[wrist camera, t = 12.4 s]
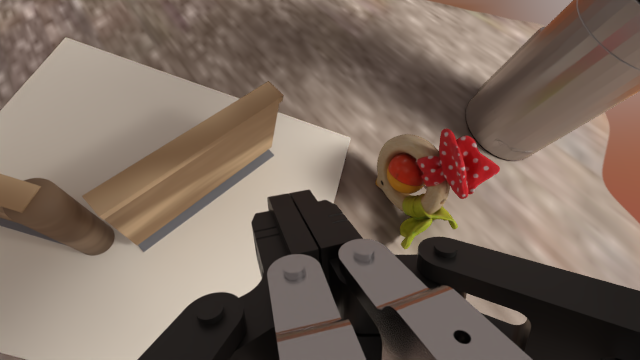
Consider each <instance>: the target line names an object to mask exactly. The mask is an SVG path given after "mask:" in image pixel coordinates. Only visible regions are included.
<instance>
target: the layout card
mask: <svg viewBox="0 0 640 360" xmlns="http://www.w3.org/2000/svg"><path fill="white" fill-rule="evenodd" d="M237 100H239V98H237V97H234V96H231V95H228V94H225V93H222V92H220V91H217V90H214V89H211V88H208V87H205V86H203V85H200V84H197V83H194V82H191V81H188V80H186V79H183V78H180V77H177V76H174V75H171V74H169V73H166V72H163V71H160V70H157V69H154V68H152V67H149V66H146V65H143V64H140V63H137V62H135V61H132V60H129V59H126V58H123V57H120V56H118V55H115V54H112V53H109V52H106V51H103V50H101V49H98V48H95V47H92V46H89V45H86V44H84V43H81V42H78V41H75V40H72V39H69V38H66V37H65V39H64V40H63V41H62V42H61V43H60V44H59V45H58V46H57V48H56V49H55V50H54V51H53V52H52V53H51V54H50V55H49V57H48V58H47V59H46V60H45V61H44V62H43V63H42V64H41V66H40V67H39V68H38V69H37V70H36V71H35V72H34V73H33V75H32V76H31V77H30V78H29V79H28V80H27V81H26V82H25V84H24V85H23V86H22V87H21V88H20V89H19V90H18V91H17V93H16V94H15V95H14V96H13V97H12V98H11V99H10V100H9V102H8V103H7V104H6V105H5V106H4V107H3V108H2V109H1V111H0V174H3V175H6V176H10V177H13V178H16V179H19V180H22V181H24V180H27V179H31V178H43V179H47V180H50V181H51V182H53V183H54V184H56V185H57V186H58V187H59V188H61V189H62V190H63V191H65V192H66V193H67V194H68V195H70V196H71V197H72V198H74V199H75V200H76V201H78V202H79V203H80V204H81V205H83V206H84V207H85V208H87V209H88V210H89V211H90V212H92V213H93V214H94V215H96V216H97V217H98V218H100V217H99V216H98V215H97V214H96V213H95V211H94V210H93V209H92V208H91V207H90V205H89V204H88V203H87V202H86V201H85V199H84V198H83V197H82V196H83V195H84V194H86V193H87V192H89V191H91V190H92V189H94V188H96V187H97V186H99V185H100V184H102V183H104V182H105V181H107V180H109V179H110V178H112V177H113V176H115V175H117V174H118V173H120V172H122V171H123V170H125V169H126V168H128V167H130V166H131V165H133V164H135V163H136V162H138V161H139V160H141V159H143V158H144V157H146V156H148V155H149V154H151V153H152V152H154V151H156V150H157V149H159V148H161V147H162V146H164V145H165V144H167V143H169V142H170V141H172V140H174V139H175V138H177V137H178V136H180V135H182V134H183V133H185V132H187V131H188V130H190V129H191V128H193V127H195V126H196V125H198V124H200V123H201V122H203V121H204V120H206V119H208V118H209V117H211V116H213V115H214V114H216V113H217V112H219V111H221V110H222V109H224V108H226V107H227V106H229V105H230V104H232V103H234V102H235V101H237ZM350 139H351V138H350V137H347V136H344V135H342V134H339V133H336V132H333V131H330V130H327V129H325V128H322V127H319V126H316V125H313V124H310V123H308V122H305V121H302V120H299V119H296V118H293V117H291V116H288V115H285V114H282V113H279V112H278V113H277V119H276V125H275V130H274V136H273V142H272V147H271V148H270V149H268V150H267V151H265V152H264V153H263V154H261V155H260V156H259V157H257V158H256V159H255V160H253V161H252V162H250V163H249V164H248V165H246V166H245V167H244V168H242V169H241V170H240V171H238V172H237V173H235V174H234V175H233V176H231V177H230V178H229V179H227V180H226V181H225V182H223V183H222V184H220V185H219V186H218V187H216V188H215V189H214V190H212V191H211V192H210V193H208V194H207V195H205V196H204V197H203V198H201V199H200V200H199V201H197V202H196V203H195V204H193V205H192V206H191V207H189V208H188V209H186V210H185V211H184V212H182V213H181V214H180V215H178V216H177V217H176V218H174V219H173V220H171V221H170V222H169V223H167V224H166V225H165V226H163V227H162V228H161V229H159V230H158V231H156V232H155V233H154V234H152V235H151V236H150V237H148V238H147V239H146V240H144V241H143V242H141V243H140V244H139V245H136V244H134V243H133V242H132V241H130V240H129V239H128V238H127V237H125V236H124V235H123V234H122V233H120V232H119V231H118V230H117V229H115V228H114V227H113V226H112V225H110V224H109V223H108V222H106V221H105V220H102V219H101V218H100V219H101V220H102V221H103V222H105V223H106V224H107V225H109V226H110V227H111V228H112V229H113V231H114V234H115V239H114V242H113V244H112V246H111V247H110V248H109V249H108V250H107V251H106V252H104V253H102V254H99V255H94V256H91V255H86V254H84V253H82V252H80V251H77V250H75V249H73V248H71V247H69V246H67V245H65V244H63V243H60V242H58V241H56V240H54V239H52V238H50V237H48V236H46V235H43V234H41V233H39V232H37V231H35V230H33V229H31V228H29V227H26V226H24V225H22V224H19V223H16V222H13V221H9V220H6V219H3V218H0V353H4V354H8V355H11V356H15V357H19V358H23V359H26V360H137V359H138V358H139V357H140V356H141V355H142V354H143V353H144V352H145V351H146V350H147V349H148V348H149V347H150V346H151V345H152V343H153V342H154V341H155V340H156V339H157V338H158V337H159V336H160V335H161V334H162V333H163V332H164V331H165V330H166V329H167V327H168V326H169V325H170V324H171V323H172V322H173V321H174V320H175V319H176V318H177V317H178V316H179V315H180V314H181V312H182V311H183V310H184V309H185V308H186V307H187V306H188V305H189V304H191V303H192V302H193V301H195V300H196V299H198V298H200V297H202V296H204V295H207V294H211V293H216V292H227V293H231V294H234V295H235V296H237V297H238V298H239V297H241V296H243V295H245V294H247V293H248V292H250V291H251V290H253V289H254V288H255V287H256V286H257V285H258V284H259V282H260V281H261V279H262V277H261V274H260V269H259V265H258V261H257V256H256V250H255V243H254V237H253V230H252V224H251V222H252V220H253V218H254V215H255V213H260V212H265V211H269V210H268V202H267V197H270V196H276V195H281V194H286V193H288V194H289V193H292V192H298V191H303V190H310V191H311V192H312V194H313V195H314V196H315V198H316V199H317V201H322V200H327V201H329V202H331V203H333V204H334V200H335V197H336V193H337V189H338V185H339V181H340V177H341V173H342V170H343V166H344V162H345V158H346V154H347V150H348V146H349V142H350Z"/></svg>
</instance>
